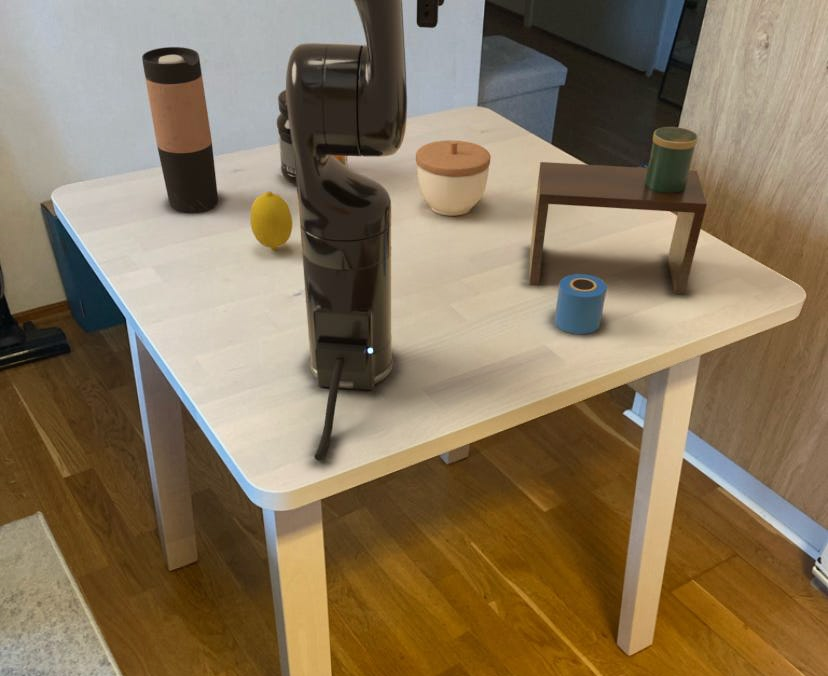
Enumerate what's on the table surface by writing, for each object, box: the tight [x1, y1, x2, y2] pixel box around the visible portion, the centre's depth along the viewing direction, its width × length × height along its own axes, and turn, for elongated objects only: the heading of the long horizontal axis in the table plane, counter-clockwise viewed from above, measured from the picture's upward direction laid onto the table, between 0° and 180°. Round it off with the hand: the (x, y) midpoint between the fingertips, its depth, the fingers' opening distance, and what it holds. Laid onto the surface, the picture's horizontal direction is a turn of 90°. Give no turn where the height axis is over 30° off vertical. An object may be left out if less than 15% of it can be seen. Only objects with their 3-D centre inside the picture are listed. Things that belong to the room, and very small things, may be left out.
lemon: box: [250, 191, 293, 251], centre depth 120 cm, size 6×6×8 cm
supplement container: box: [276, 89, 349, 186], centre depth 136 cm, size 10×10×12 cm
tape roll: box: [553, 273, 608, 335], centre depth 108 cm, size 6×6×5 cm
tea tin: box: [645, 126, 699, 193], centre depth 109 cm, size 5×5×6 cm
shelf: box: [528, 161, 708, 296], centre depth 115 cm, size 10×20×12 cm, turn 84°
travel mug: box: [141, 46, 219, 214], centre depth 126 cm, size 8×8×20 cm
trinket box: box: [415, 139, 492, 217], centre depth 130 cm, size 11×11×9 cm
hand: (430, 15), depth 98 cm, fingers open, 8 cm apart
